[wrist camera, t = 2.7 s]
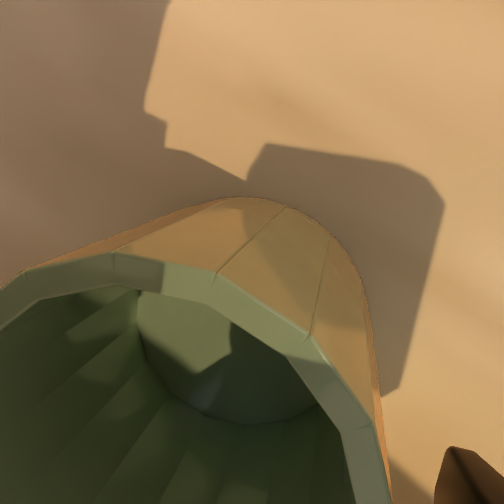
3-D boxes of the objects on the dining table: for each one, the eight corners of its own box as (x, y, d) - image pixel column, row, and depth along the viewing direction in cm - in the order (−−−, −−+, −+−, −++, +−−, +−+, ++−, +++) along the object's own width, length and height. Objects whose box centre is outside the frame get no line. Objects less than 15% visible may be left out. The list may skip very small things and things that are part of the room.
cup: (393, 221, 12) (450, 320, 5) (341, 450, 14) (333, 747, 7) (143, 177, 13) (-77, 211, 6) (123, 394, 15) (-69, 606, 8)
